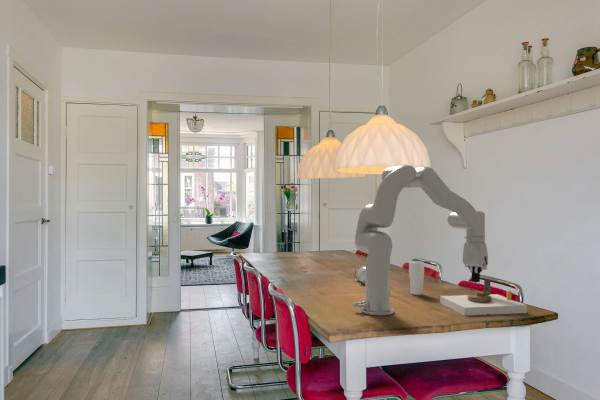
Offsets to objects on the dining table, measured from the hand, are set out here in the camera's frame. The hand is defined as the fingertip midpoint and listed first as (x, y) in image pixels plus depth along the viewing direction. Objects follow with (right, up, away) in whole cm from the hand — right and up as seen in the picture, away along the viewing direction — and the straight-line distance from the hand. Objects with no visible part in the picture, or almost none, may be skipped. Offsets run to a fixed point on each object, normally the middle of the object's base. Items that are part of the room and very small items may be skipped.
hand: (475, 281), depth 194 cm
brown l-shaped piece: (-1, -5, -10) cm, 11 cm away
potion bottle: (-43, -8, +41) cm, 59 cm away
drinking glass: (-22, -8, +13) cm, 27 cm away
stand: (-2, -8, -12) cm, 15 cm away
